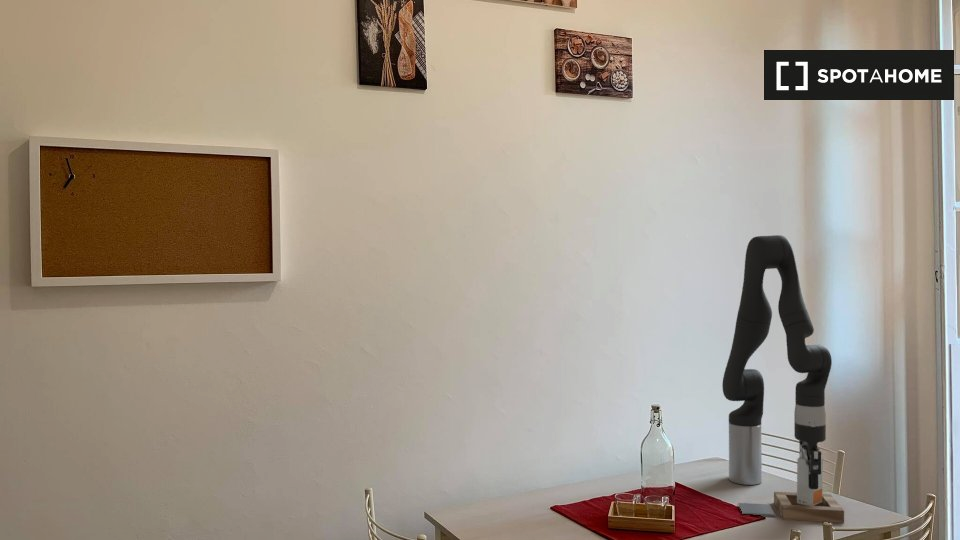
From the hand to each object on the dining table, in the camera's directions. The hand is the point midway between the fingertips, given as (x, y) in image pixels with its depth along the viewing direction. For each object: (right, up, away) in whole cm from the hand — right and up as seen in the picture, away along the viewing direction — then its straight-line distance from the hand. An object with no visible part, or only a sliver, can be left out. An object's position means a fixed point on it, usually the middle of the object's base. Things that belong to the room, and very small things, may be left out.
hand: (809, 484), depth 201 cm
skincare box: (0, -5, 0) cm, 5 cm away
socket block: (-1, -7, 0) cm, 7 cm away
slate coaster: (-13, -8, +2) cm, 16 cm away
